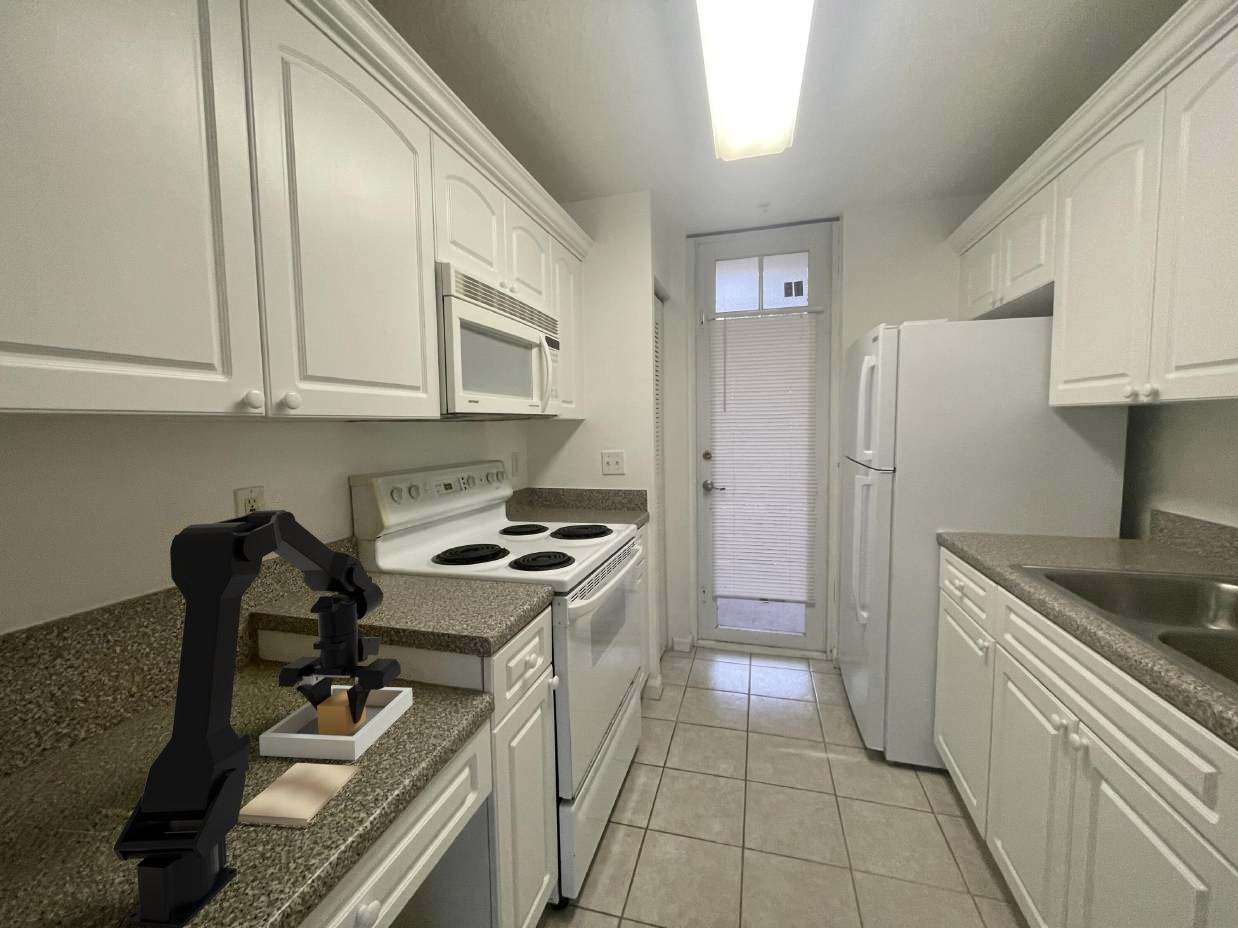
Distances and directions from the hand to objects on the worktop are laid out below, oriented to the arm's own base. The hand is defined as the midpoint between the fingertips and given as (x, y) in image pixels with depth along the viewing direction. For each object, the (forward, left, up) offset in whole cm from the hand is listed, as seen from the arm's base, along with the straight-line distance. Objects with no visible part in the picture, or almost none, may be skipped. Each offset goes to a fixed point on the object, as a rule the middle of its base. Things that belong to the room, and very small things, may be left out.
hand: (342, 721), depth 81 cm
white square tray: (0, 0, -2) cm, 2 cm away
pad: (-15, -5, -2) cm, 16 cm away
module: (0, 0, -1) cm, 1 cm away
